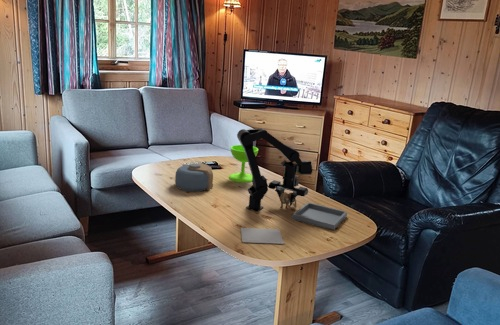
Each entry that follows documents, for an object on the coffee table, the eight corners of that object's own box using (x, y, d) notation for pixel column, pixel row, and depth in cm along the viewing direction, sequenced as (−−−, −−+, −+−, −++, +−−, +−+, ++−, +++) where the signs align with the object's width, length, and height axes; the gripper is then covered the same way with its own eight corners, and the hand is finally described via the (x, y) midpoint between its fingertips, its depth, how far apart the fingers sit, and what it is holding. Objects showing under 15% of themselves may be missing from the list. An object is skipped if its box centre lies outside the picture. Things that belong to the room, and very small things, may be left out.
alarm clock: (217, 191, 234) (218, 169, 231) (179, 193, 227) (180, 170, 223) (206, 180, 251) (208, 159, 248) (171, 181, 244) (172, 160, 241)
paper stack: (239, 220, 199) (239, 219, 199) (294, 222, 201) (294, 221, 201) (242, 243, 177) (242, 242, 176) (304, 246, 179) (304, 244, 179)
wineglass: (225, 174, 264) (227, 144, 259) (251, 174, 269) (253, 145, 264) (232, 183, 249) (234, 151, 244) (259, 182, 254) (262, 151, 249)
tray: (333, 230, 196) (334, 225, 195) (291, 219, 204) (292, 214, 204) (346, 216, 213) (347, 211, 212) (307, 206, 222) (308, 202, 221)
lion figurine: (286, 212, 212) (288, 194, 210) (276, 209, 214) (278, 192, 212) (298, 203, 225) (300, 187, 222) (288, 201, 227) (290, 184, 224)
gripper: (313, 174, 217) (310, 204, 221) (279, 166, 225) (276, 195, 229) (305, 180, 207) (301, 211, 211) (269, 171, 215) (266, 201, 219)
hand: (286, 204), depth 218 cm, fingers closed on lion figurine, 4 cm apart
